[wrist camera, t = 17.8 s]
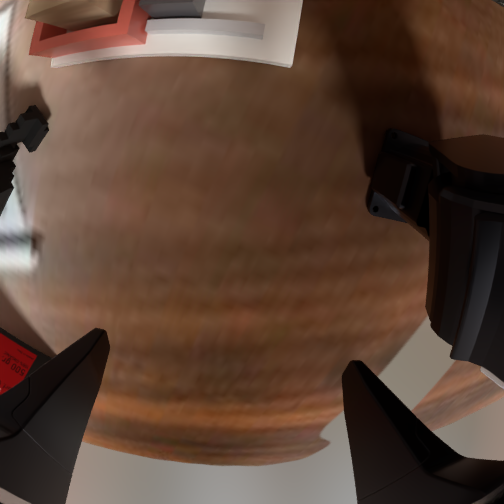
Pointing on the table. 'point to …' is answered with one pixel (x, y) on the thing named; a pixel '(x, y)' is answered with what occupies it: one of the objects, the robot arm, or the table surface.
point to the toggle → (173, 8)
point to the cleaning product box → (17, 360)
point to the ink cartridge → (500, 2)
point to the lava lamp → (492, 377)
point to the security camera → (5, 147)
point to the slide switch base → (181, 34)
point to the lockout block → (74, 13)
